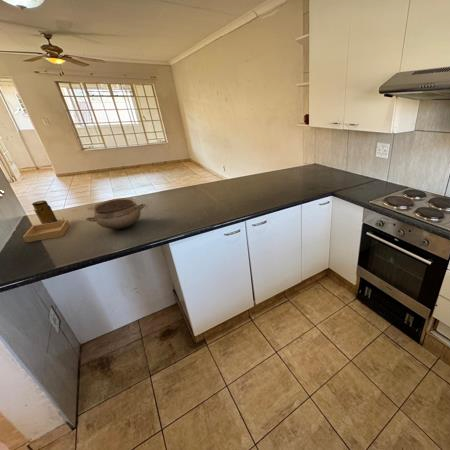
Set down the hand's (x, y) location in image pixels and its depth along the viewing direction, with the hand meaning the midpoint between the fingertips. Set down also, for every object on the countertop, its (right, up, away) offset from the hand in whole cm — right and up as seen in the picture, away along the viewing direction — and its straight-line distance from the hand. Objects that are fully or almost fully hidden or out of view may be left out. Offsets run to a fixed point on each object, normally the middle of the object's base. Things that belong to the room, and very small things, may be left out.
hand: (3, 195), depth 115 cm
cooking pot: (+49, -15, +10) cm, 52 cm away
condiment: (+9, -13, +14) cm, 21 cm away
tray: (+17, -18, +4) cm, 25 cm away
